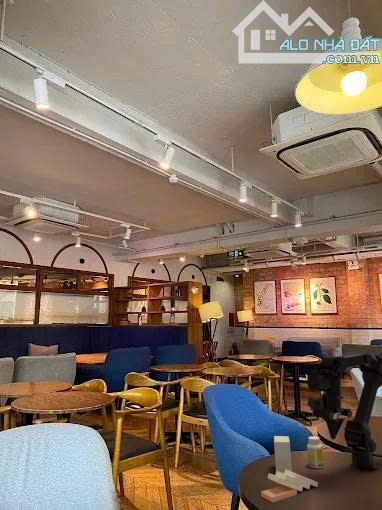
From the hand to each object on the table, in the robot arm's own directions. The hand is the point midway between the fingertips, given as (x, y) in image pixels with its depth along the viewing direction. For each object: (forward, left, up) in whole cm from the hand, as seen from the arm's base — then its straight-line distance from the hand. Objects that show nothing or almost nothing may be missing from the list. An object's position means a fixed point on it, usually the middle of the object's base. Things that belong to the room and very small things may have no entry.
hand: (332, 439), depth 133 cm
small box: (+13, -12, -12) cm, 22 cm away
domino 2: (+21, +5, -11) cm, 24 cm away
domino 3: (+15, +4, -11) cm, 19 cm away
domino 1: (+18, +5, -11) cm, 22 cm away
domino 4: (+12, +3, -11) cm, 17 cm away
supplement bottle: (0, -11, -12) cm, 16 cm away
